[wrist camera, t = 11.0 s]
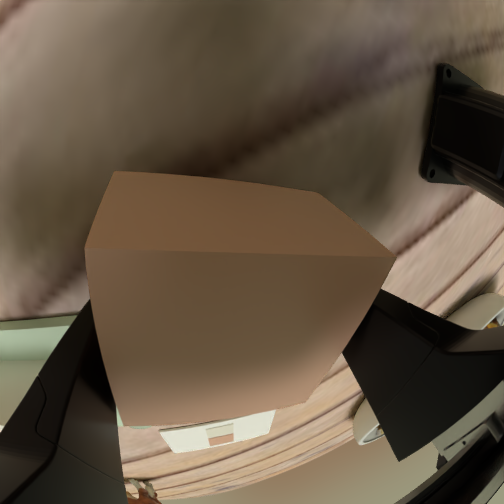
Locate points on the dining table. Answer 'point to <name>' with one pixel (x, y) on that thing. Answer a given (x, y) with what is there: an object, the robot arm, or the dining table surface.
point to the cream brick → (15, 384)
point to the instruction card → (218, 432)
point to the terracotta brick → (223, 294)
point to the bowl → (469, 316)
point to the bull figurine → (143, 494)
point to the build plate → (36, 341)
